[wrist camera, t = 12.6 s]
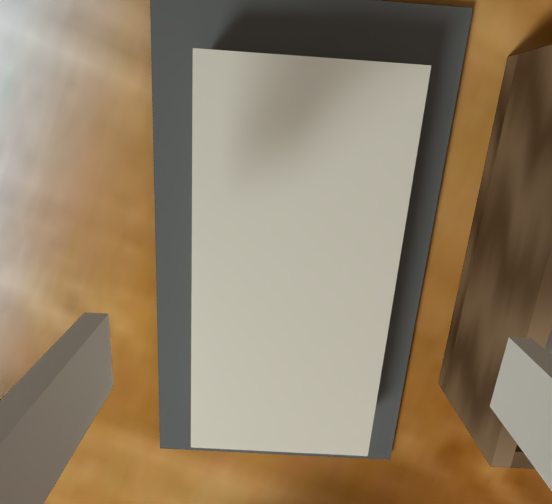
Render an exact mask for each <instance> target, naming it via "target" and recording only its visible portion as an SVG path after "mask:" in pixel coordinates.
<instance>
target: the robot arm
mask: <svg viewBox="0 0 552 504" xmlns="http://www.w3.org/2000/svg"><path fill="white" fill-rule="evenodd" d="M113 386H114V385H113V371H112V357H111V343H110V329H109V315H108V314H102V313H84V314H83V315H82V316H81V317H80V318H79V319H78V320H77V321H76V322H75V323H74V324H73V325H72V326H71V327H70V328H69V329H68V330H67V331H66V332H65V333H64V335H63V336H62V337H61V338H60V339H59V340H58V341H57V342H56V343H55V344H54V345H53V346H52V347H51V348H50V349H49V350H48V351H47V352H46V353H45V354H44V355H43V356H42V357H41V359H40V360H39V361H38V362H37V363H36V364H35V365H34V366H33V367H32V368H31V369H30V370H29V371H28V372H27V373H26V374H25V375H24V376H23V377H22V378H21V379H20V380H19V382H18V383H17V384H16V385H15V386H14V387H13V388H12V389H11V390H10V391H9V392H8V393H7V394H6V395H5V396H4V397H3V398H2V399H0V504H44V502H45V500H46V499H47V497H48V495H49V494H50V492H51V490H52V489H53V487H54V485H55V484H56V482H57V480H58V479H59V477H60V475H61V474H62V472H63V470H64V468H65V467H66V465H67V463H68V462H69V460H70V458H71V457H72V455H73V453H74V452H75V450H76V448H77V447H78V445H79V443H80V442H81V440H82V438H83V436H84V435H85V433H86V431H87V430H88V428H89V426H90V425H91V423H92V421H93V420H94V418H95V416H96V415H97V413H98V411H99V410H100V408H101V406H102V404H103V403H104V401H105V399H106V398H107V396H108V394H109V393H110V391H111V389H112V388H113ZM490 407H491V409H492V410H493V411H494V413H495V414H496V416H497V417H498V418H499V420H500V421H501V422H502V424H503V425H504V427H505V428H506V429H507V431H508V432H509V433H510V435H511V436H512V437H513V439H514V440H515V442H516V443H517V444H518V446H519V447H520V448H521V450H522V451H523V452H524V454H525V455H526V457H527V458H528V459H529V461H530V462H531V463H532V465H533V466H534V468H535V469H536V470H537V472H538V473H539V474H540V476H541V477H542V478H543V480H544V481H545V483H546V484H547V485H548V487H549V488H550V489H551V491H552V356H551V355H550V354H549V353H548V352H547V351H545V350H544V349H543V348H542V347H541V346H540V345H539V344H537V343H536V342H535V341H534V340H533V339H532V338H517V337H509V338H508V342H507V345H506V349H505V353H504V356H503V360H502V363H501V367H500V371H499V374H498V378H497V381H496V385H495V389H494V392H493V396H492V399H491V403H490Z"/></svg>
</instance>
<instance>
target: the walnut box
mask: <svg viewBox="0 0 552 504" xmlns="http://www.w3.org/2000/svg"><path fill="white" fill-rule="evenodd" d="M509 337H517V338H532V339H533V340H534V341H535V342H536V343H537V344H539V345H540V346H541V347H542V348H543V349H544V350H545V351H547V352H548V353H549V354H550V355H551V356H552V44H551V45H548V46H544V47H541V48H537V49H534V50H530V51H527V52H523V53H520V54H516V55H513V56H509V57H508V58H507V63H506V67H505V72H504V77H503V82H502V86H501V91H500V96H499V100H498V105H497V110H496V115H495V119H494V124H493V129H492V133H491V138H490V143H489V147H488V152H487V157H486V162H485V166H484V171H483V176H482V180H481V185H480V190H479V195H478V199H477V204H476V209H475V213H474V218H473V223H472V227H471V232H470V237H469V242H468V246H467V251H466V256H465V260H464V265H463V270H462V274H461V279H460V284H459V289H458V293H457V298H456V303H455V307H454V312H453V317H452V322H451V326H450V331H449V336H448V340H447V345H446V350H445V354H444V359H443V364H442V369H441V373H440V378H439V383H438V384H439V386H440V387H441V389H442V390H443V392H444V393H445V395H446V397H447V398H448V400H449V401H450V403H451V405H452V406H453V408H454V409H455V411H456V412H457V414H458V416H459V417H460V419H461V420H462V422H463V424H464V425H465V427H466V428H467V430H468V431H469V433H470V435H471V436H472V438H473V439H474V441H475V443H476V444H477V446H478V447H479V449H480V451H481V452H482V454H483V455H484V457H485V458H486V460H487V462H488V463H489V465H490V466H491V467H505V468H525V469H535V468H534V466H533V465H532V463H531V462H530V461H529V459H528V458H527V457H526V455H525V454H524V452H523V451H522V450H521V448H520V447H519V446H518V444H517V443H516V442H515V440H514V439H513V437H512V436H511V435H510V433H509V432H508V431H507V429H506V428H505V427H504V425H503V424H502V422H501V421H500V420H499V418H498V417H497V416H496V414H495V413H494V411H493V410H492V409H491V407H490V403H491V399H492V396H493V392H494V389H495V385H496V381H497V378H498V374H499V371H500V367H501V363H502V360H503V356H504V353H505V349H506V345H507V342H508V338H509Z"/></svg>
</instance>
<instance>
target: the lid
mask: <svg viewBox="0 0 552 504" xmlns="http://www.w3.org/2000/svg"><path fill="white" fill-rule="evenodd" d="M430 71H431V65H419V64H405V63H391V62H378V61H364V60H350V59H336V58H323V57H309V56H295V55H281V54H267V53H254V52H240V51H226V50H212V49H199V48H193V83H192V290H191V448H211V449H232V450H252V451H272V452H292V453H312V454H332V455H353V456H368V451H369V445H370V439H371V433H372V427H373V421H374V414H375V408H376V402H377V396H378V390H379V384H380V378H381V372H382V365H383V359H384V353H385V347H386V341H387V335H388V329H389V322H390V316H391V310H392V304H393V298H394V292H395V286H396V280H397V273H398V267H399V261H400V255H401V249H402V243H403V237H404V231H405V224H406V218H407V212H408V206H409V200H410V194H411V188H412V181H413V175H414V169H415V163H416V157H417V151H418V145H419V139H420V132H421V126H422V120H423V114H424V108H425V102H426V96H427V90H428V83H429V77H430Z"/></svg>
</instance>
